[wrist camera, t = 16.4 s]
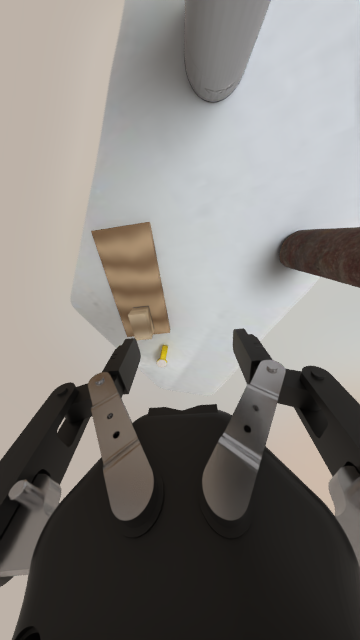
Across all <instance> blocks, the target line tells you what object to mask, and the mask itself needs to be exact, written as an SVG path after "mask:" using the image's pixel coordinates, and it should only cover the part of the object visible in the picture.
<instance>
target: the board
mask: <svg viewBox="0 0 360 640" xmlns="http://www.w3.org/2000/svg"><path fill="white" fill-rule="evenodd" d="M91 232H92V235H93V238H94V241H95V244H96V247H97V250H98V253H99V256H100V258H101V261H102V264H103V267H104V270H105V273H106V276H107V279H108V282H109V285H110V288H111V291H112V294H113V296H114V299H115V302H116V305H117V308H118V311H119V314H120V317H121V320H122V323H123V326H124V329H125V331H126V334H127V337H132V336H134V333H133V330H132V327H131V324H130V321H129V317H128V314H129V313H130V311H131V310H132V309H133V307H141V306H149V308H150V313H151V317H152V321H153V325H154V333H153V334H161V333H170V326H169V321H168V315H167V310H166V305H165V299H164V294H163V289H162V283H161V278H160V273H159V267H158V262H157V257H156V251H155V246H154V241H153V235H152V230H151V225H150V222H145V223H139V224H133V225H126V226H120V227H114V228H108V229H101V230H95V231H91Z"/></svg>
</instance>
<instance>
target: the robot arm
mask: <svg viewBox="0 0 360 640" xmlns="http://www.w3.org/2000/svg"><path fill="white" fill-rule="evenodd" d="M270 2H271V0H185V22H184V56H185V67H186V72H187V76H188V79H189V82H190V84H191V86H192V88H193V89H194V91H195V92H196V93H197V94H198V95H199V97H201V98H202V99H204V100H206V101H210V102H217V101H220V100H223V99H225V98H226V97H227V96H229V95H230V94H231V93H232V92H233V91H234V90H235V88H236V87H237V85H238V84H239V82H240V80H241V78H242V76H243V74H244V71H245V69H246V66H247V63H248V61H249V58H250V55H251V53H252V50H253V47H254V45H255V42H256V39H257V37H258V34H259V31H260V29H261V26H262V23H263V21H264V18H265V15H266V12H267V10H268V7H269V4H270ZM233 351H234V354H235V356H236V359H237V361H238V363H239V366H240V368H241V371H242V373H243V375H244V378H245V380H246V382H247V386H246V388H245V391H244V393H243V395H242V397H241V399H240V401H239V403H238V405H237V407H236V409H235V412H234V413H233V415H230V414H228V413H226V412H223V411H220V410H218V409H217V404H213V405H200V406H196V407H193V408H189V409H186V410H183V411H181V410H176V409H171V408H166V407H161V408H149V412H148V414H147V415H144V416H142V417H140V418H139V419H137V420H136V421H135V422H133V423H132V421H131V419H130V417H129V415H128V413H127V410H126V408H125V406H124V403H123V402H122V399H121V398H122V395H123V394H129V391H130V388H131V385H132V383H133V380H134V377H135V374H136V371H137V368H138V365H139V362H140V358H141V355H140V350H139V347H138V344H137V341H136V339H135V338H132V339H125V341H124V343H123V344H122V345H121V346H119V347H118V348H116V349H115V351H114V353H113V354H112V356H111V358H110V359H109V361H108V363H107V364H106V366H105V368H104V370H103V371H102V373H99V374H97V375H95V376H94V377H92V378H91V379H90V381H89V383H88V384H85V385H82V386H79V387H76V386H75V385H74V383H65V384H63V385H61V386H59V387H58V388H56V389H55V390H54V391H53V392H52V393H51V395H50V396H49V397H48V399H47V400H46V401H45V403H44V404H43V405H42V407H41V408H40V409H39V410H38V412H37V413H36V414H35V416H34V417H33V418H32V420H31V421H30V422H29V424H28V425H27V426H26V428H25V429H24V430H23V432H22V433H21V434H20V436H19V437H18V438H17V440H16V441H15V442H14V443H13V445H12V446H11V448H10V449H9V450H8V451H7V453H6V454H5V455H4V457H3V458H2V459H1V461H0V586H3V585H4V584H6V583H7V582H8V581H9V580H10V579H11V578H13V576H17V575H27V574H29V575H28V581H27V587H26V592H25V596H24V601H23V605H22V608H21V612H20V615H19V619H18V622H17V625H16V629H15V632H14V635H13V638H12V640H360V404H359V403H358V402H357V401H356V400H355V399H354V398H353V397H352V396H351V395H350V394H349V393H348V392H347V391H346V390H345V388H344V387H342V386H341V384H340V383H339V382H338V381H337V380H336V379H335V378H334V377H333V376H332V375H331V374H330V373H329V372H327V371H326V370H324V369H322V368H319V367H316V366H306V367H304V368H303V369H302V372H301V371H295V370H289V369H285V368H284V366H283V365H282V364H280V363H279V362H277V361H274V360H272V358H271V357H270V355H269V354H268V353H267V351H266V350H265V348H264V347H263V345H262V344H261V343H260V341H259V340H258V338H257V337H255V336H254V335H252V334H247V332H246V331H245V329H234V331H233ZM277 403H280V404H284V405H288V406H292V407H294V408H295V410H296V412H297V414H298V415H299V417H300V419H301V421H302V423H303V424H304V426H305V428H306V430H307V432H308V433H309V435H310V437H311V439H312V440H313V442H314V444H315V446H316V448H317V449H318V451H319V453H320V455H321V456H322V458H323V460H324V462H325V464H326V465H327V467H328V469H329V471H330V472H331V474H332V476H333V477H332V479H331V480H330V482H329V491H330V495H331V497H332V500H333V502H334V506H335V516H334V515H333V513H332V512H331V511H330V510H329V508H328V507H327V506H326V505H325V503H324V502H323V501H322V500H321V499H320V498H319V497H318V496H317V495H316V494H315V493H313V492H312V491H311V490H310V489H309V488H308V487H307V486H306V485H305V484H304V483H303V482H302V481H301V480H300V479H299V478H298V477H297V476H296V475H295V474H294V473H293V472H292V471H291V470H289V468H287V467H286V466H285V465H284V464H283V463H282V462H281V461H280V460H279V459H278V458H277V457H276V456H275V455H274V454H273V453H272V452H271V451H270V450H269V449H268V448H266V446H265V445H266V441H267V438H268V434H269V431H270V427H271V423H272V420H273V416H274V413H275V409H276V405H277ZM91 416H93V420H94V425H95V429H96V433H97V438H98V442H99V447H100V451H101V456H102V457H101V458H100V460H98V462H97V463H96V464H95V465H94V466H93V467H92V468H91V469H90V470H89V471H88V473H87V474H86V475H85V476H84V477H83V478H82V479H81V480H80V481H79V483H78V484H77V485H76V486H75V487H74V488H73V489H72V490H71V491H70V492H69V494H68V495H67V496H66V497H65V498H64V499H63V500H62V501H61V503H59V500H60V497H61V487H60V483H61V481H62V479H63V477H64V474H65V472H66V470H67V468H68V466H69V463H70V461H71V459H72V456H73V454H74V452H75V450H76V448H77V446H78V443H79V441H80V438H81V437H82V434H83V432H84V430H85V428H86V425H87V423H88V421H89V419H90V417H91ZM64 417H65V418H66V419H65V421H64V422H63V424H62V426H61V428H60V429H59V431H58V433H57V429H58V427H59V425H60V424H61V422H62V420H63V419H64Z"/></svg>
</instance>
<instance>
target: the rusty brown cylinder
mask: <svg viewBox="0 0 360 640" xmlns="http://www.w3.org/2000/svg"><path fill="white" fill-rule="evenodd" d="M279 255H280V262H281V263H282V264H283V265H284V266H286V267H289V268H292V269H295V270H298V271H302V272H306V273H310V274H313V275H317V276H321V277H324V278H328V279H332V280H335V281H338V282H341V283H345V284H349V285H352V286H355V287H359V288H360V227H357V228H337V229H313V230H301V231H297V232H295V233H293V234H292V235H290V236H289V237H288V238H287V239H286V240H285V241H284V243H283V244H282V247H281V250H280V253H279Z"/></svg>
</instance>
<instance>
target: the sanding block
mask: <svg viewBox="0 0 360 640" xmlns="http://www.w3.org/2000/svg"><path fill="white" fill-rule="evenodd" d="M128 317H129V321H130V324H131V327H132V330H133V333H134V337H135V339H136V340H146V339H152V336H153V333H154V325H153V321H152V317H151V313H150V308H149V306H141V307H133V309H132V310H131V311H130V313H129V314H128Z"/></svg>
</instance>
